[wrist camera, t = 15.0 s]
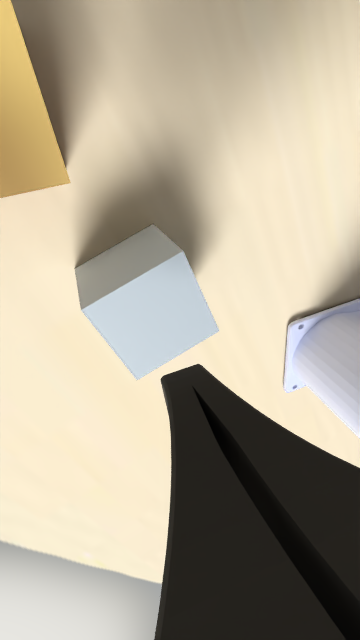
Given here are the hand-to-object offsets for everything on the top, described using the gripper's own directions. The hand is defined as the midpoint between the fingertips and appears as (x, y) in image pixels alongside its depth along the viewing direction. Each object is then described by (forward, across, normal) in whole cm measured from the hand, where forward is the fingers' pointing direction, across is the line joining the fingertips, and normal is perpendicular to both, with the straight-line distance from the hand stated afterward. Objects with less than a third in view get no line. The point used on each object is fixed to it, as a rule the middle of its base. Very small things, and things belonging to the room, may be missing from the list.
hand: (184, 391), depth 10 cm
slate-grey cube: (+10, 0, 0) cm, 10 cm away
